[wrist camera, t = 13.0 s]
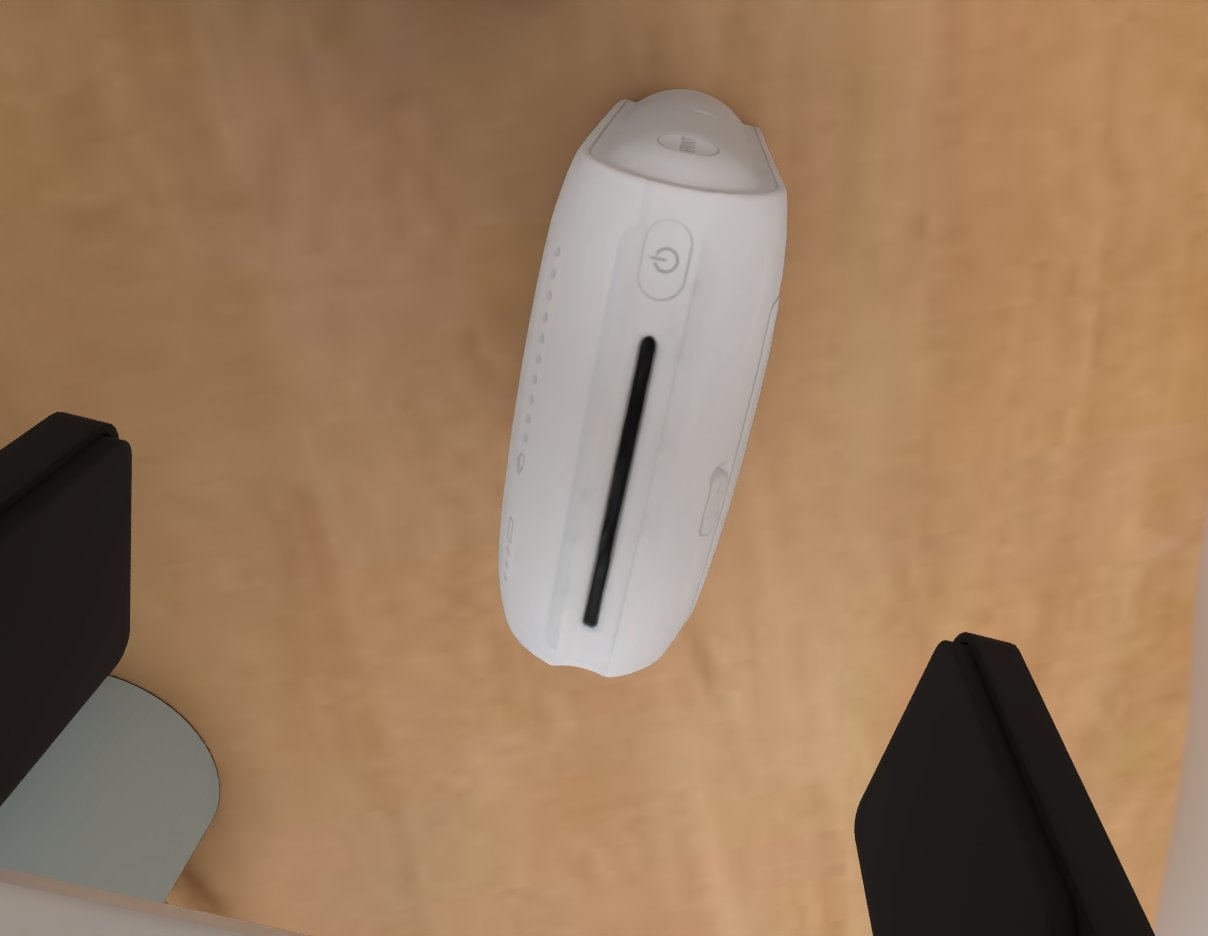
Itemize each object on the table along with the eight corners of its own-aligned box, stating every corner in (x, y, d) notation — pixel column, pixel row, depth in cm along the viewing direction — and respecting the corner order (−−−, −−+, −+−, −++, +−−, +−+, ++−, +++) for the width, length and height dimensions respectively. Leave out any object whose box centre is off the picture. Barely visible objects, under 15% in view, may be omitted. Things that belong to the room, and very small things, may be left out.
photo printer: (610, 67, 25) (534, 134, 14) (779, 101, 25) (838, 196, 14) (548, 433, 29) (453, 705, 18) (689, 462, 29) (680, 752, 18)
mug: (-73, 713, 37) (-323, 949, 28) (119, 636, 34) (-87, 867, 25) (148, 953, 42) (-3, 1218, 33) (330, 900, 39) (220, 1172, 30)
